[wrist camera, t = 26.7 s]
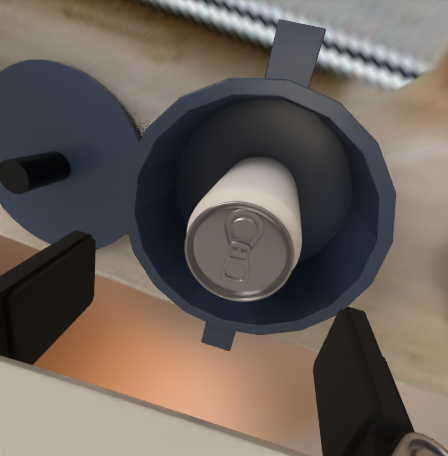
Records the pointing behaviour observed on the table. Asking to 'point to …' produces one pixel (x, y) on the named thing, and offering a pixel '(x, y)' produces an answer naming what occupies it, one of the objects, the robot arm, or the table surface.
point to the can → (246, 231)
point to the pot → (301, 171)
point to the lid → (63, 152)
